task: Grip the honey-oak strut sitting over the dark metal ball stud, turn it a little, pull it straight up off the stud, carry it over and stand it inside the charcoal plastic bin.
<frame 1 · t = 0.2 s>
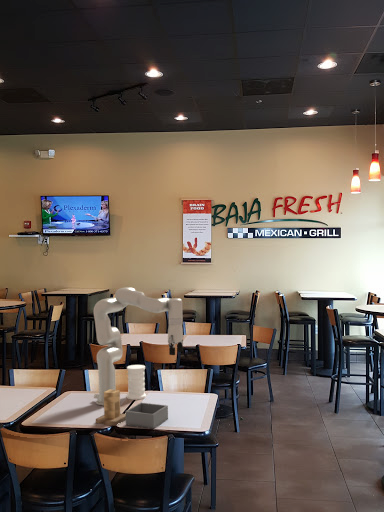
hand: (176, 353, 264), 31 cm above the table, tool pointing down, fingers open, 9 cm apart
stud block: (112, 420, 250), on the table
charcoal bin: (147, 422, 246), on the table
decorative container: (136, 397, 292), on the table
oak strut: (112, 416, 250), point 2 cm above the table, touching stud block
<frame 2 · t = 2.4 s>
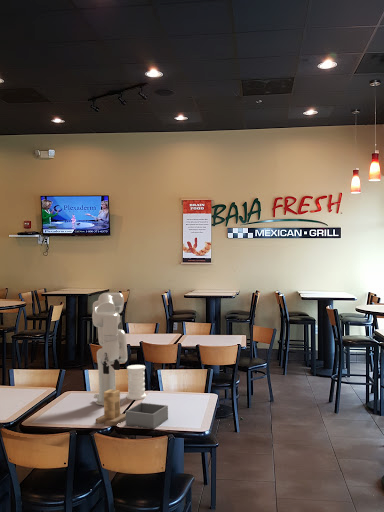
hand: (111, 371, 249), 25 cm above the table, tool pointing down, fingers open, 9 cm apart
nothing on the table moved.
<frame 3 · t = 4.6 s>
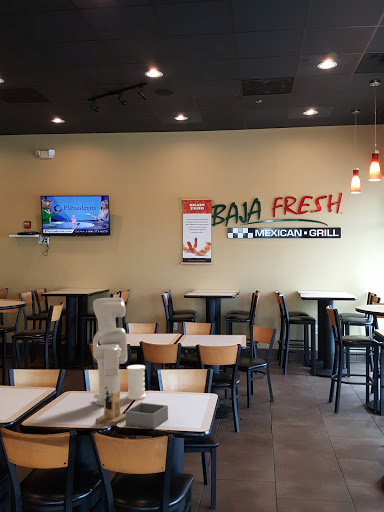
hand: (112, 406, 250), 7 cm above the table, tool pointing down, fingers closed on oak strut, 5 cm apart
oak strut: (112, 416, 250), point 2 cm above the table, touching gripper, stud block
everything else where it was.
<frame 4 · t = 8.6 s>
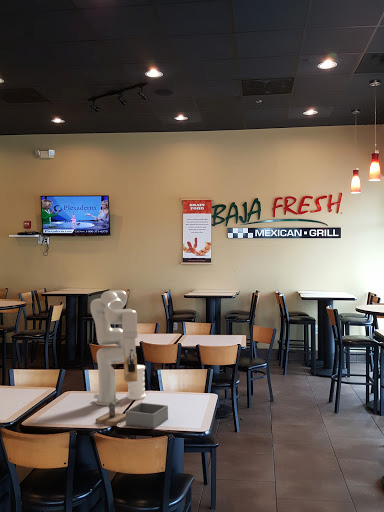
hand: (130, 370, 248), 26 cm above the table, tool pointing down, fingers closed on oak strut, 5 cm apart
oak strut: (130, 380, 247), point 21 cm above the table, touching gripper
everything else where it was.
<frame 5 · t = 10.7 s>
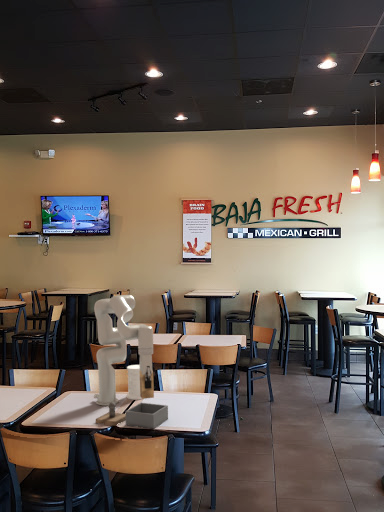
hand: (146, 386, 246), 18 cm above the table, tool pointing down, fingers closed on oak strut, 5 cm apart
oak strut: (147, 396, 246), point 13 cm above the table, touching gripper
everything else where it was.
when the fingers open (9 cm above the table, at t = 12.7 s): oak strut drops 3 cm, resting on charcoal bin.
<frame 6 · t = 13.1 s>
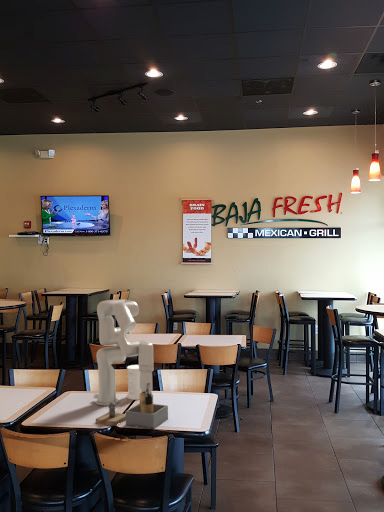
hand: (146, 401, 246), 10 cm above the table, tool pointing down, fingers open, 9 cm apart
oak strut: (146, 419, 247), point 1 cm above the table, touching charcoal bin
everything else where it was.
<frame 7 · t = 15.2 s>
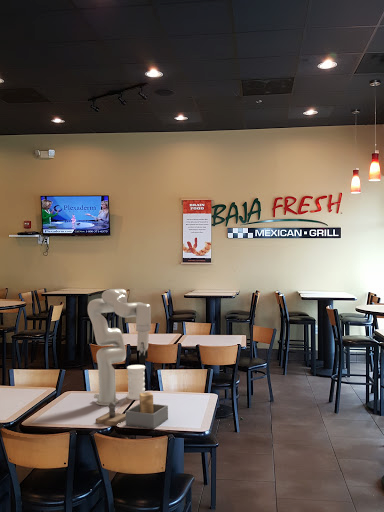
hand: (143, 360, 254), 29 cm above the table, tool pointing down, fingers open, 9 cm apart
nothing on the table moved.
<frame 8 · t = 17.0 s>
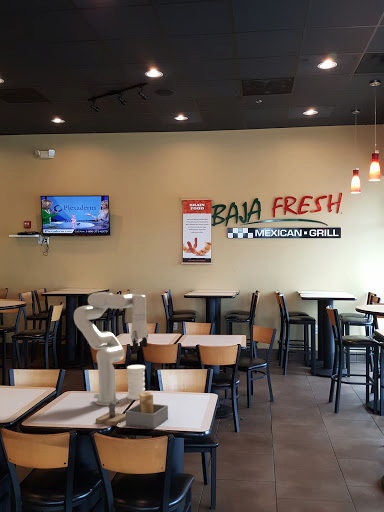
hand: (140, 348, 267), 33 cm above the table, tool pointing down, fingers open, 9 cm apart
nothing on the table moved.
at the end: oak strut inside the target area on the charcoal bin (0.6 cm from its centre), point 1.0 cm above the charcoal bin's base; the gripper is holding nothing; oak strut moved 18.1 cm from its start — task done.
